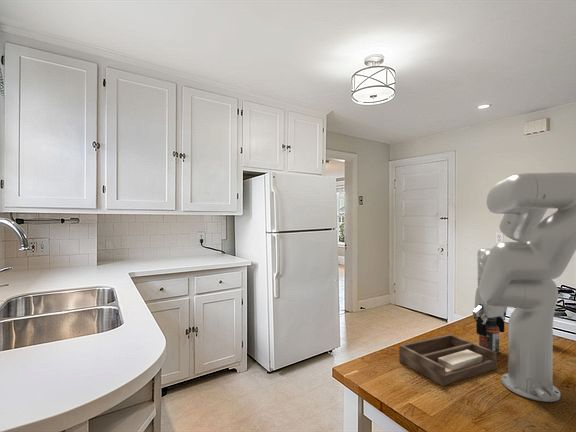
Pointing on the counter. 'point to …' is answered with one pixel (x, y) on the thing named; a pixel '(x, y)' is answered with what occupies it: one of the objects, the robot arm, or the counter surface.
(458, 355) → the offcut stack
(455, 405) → the counter surface
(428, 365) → the walnut divided tray
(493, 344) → the supplement bottle
